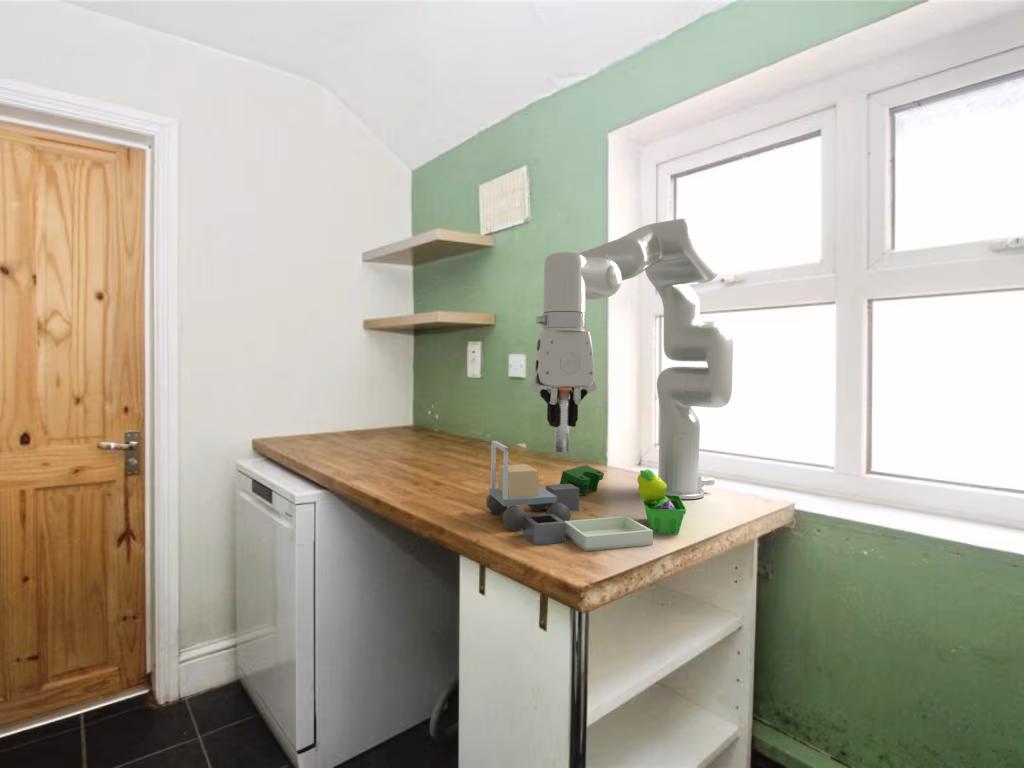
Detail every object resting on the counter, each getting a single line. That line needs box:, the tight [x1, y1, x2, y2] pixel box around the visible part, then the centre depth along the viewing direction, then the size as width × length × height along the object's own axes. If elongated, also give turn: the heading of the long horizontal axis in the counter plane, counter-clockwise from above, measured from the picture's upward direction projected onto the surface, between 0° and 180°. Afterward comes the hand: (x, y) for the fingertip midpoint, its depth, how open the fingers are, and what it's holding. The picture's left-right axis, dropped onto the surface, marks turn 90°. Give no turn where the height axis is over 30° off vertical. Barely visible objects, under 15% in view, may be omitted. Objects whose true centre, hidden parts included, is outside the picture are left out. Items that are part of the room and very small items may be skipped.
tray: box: [564, 515, 654, 552], centre depth 96 cm, size 13×9×2 cm
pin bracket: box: [522, 513, 567, 546], centre depth 96 cm, size 6×6×4 cm
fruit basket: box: [637, 469, 687, 535], centre depth 105 cm, size 11×9×11 cm
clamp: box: [559, 464, 605, 497], centre depth 132 cm, size 12×6×9 cm, turn 135°
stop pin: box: [554, 387, 573, 453], centre depth 96 cm, size 4×4×12 cm
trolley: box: [485, 440, 572, 532], centre depth 108 cm, size 13×14×16 cm
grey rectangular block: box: [545, 483, 580, 512], centre depth 116 cm, size 6×4×5 cm
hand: (562, 425), depth 96 cm, fingers closed on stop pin, 2 cm apart
